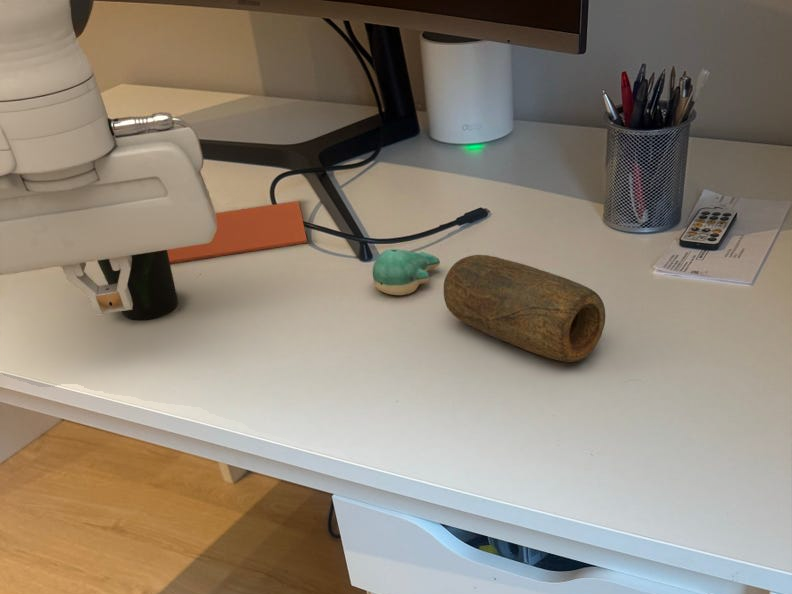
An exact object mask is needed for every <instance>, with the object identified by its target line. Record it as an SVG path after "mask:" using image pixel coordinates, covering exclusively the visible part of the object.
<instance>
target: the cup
mask: <svg viewBox="0 0 792 594" xmlns="http://www.w3.org/2000/svg"><path fill="white" fill-rule="evenodd" d="M131 257H132V263H131V270H130V274H129V279H128V283H127V286H128V289H129V292H130V295H131V298H132V302H133V307H132V310H126V311H120V313H121V314H122V316H123V317H125V318H126V319H128V320H132V321H149V320H154V319H158V318H161V317H163V316H166V315H168V314H169V313H171V312H173V311H174V310H176V309H177V307H178V306H179V299H178V294H177V288H176V285H175V280H174V276H173V272H172V266H171V264H170V261H169V257H168V252H167V250H162V251H155V252H149V253H143V254H136V255H131ZM97 264H98V266H99V269H100V270H101V272H102V274H103V277H104V278H105V281H106V283H107V285H109V284H115V283H118V279H119V275H120V270H121V269H120V270H118V271H114V270H113V269H112V266H111V264H110V261H109V259H104V260H97Z"/></svg>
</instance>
